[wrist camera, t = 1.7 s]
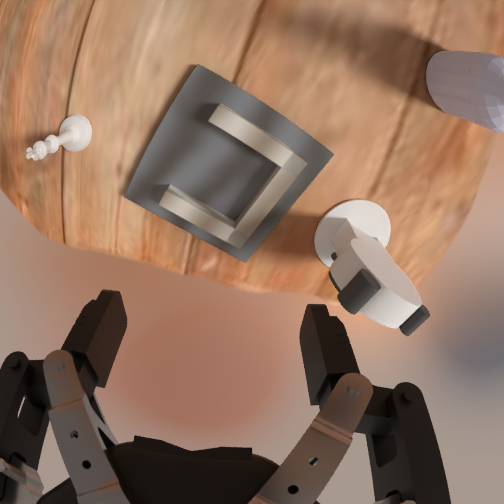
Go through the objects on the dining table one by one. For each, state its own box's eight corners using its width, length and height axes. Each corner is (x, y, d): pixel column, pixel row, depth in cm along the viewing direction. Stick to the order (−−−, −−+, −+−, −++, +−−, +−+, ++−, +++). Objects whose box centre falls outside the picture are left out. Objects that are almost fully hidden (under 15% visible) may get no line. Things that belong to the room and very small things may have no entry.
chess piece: (74, 106, 25) (23, 122, 17) (98, 129, 28) (52, 151, 19) (55, 136, 27) (7, 161, 19) (79, 158, 29) (34, 189, 21)
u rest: (126, 193, 33) (118, 203, 30) (199, 64, 25) (194, 62, 22) (245, 258, 39) (245, 271, 36) (331, 152, 31) (339, 159, 28)
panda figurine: (294, 248, 38) (316, 335, 26) (343, 180, 33) (399, 248, 20) (356, 279, 42) (389, 357, 29) (403, 223, 36) (458, 293, 24)
